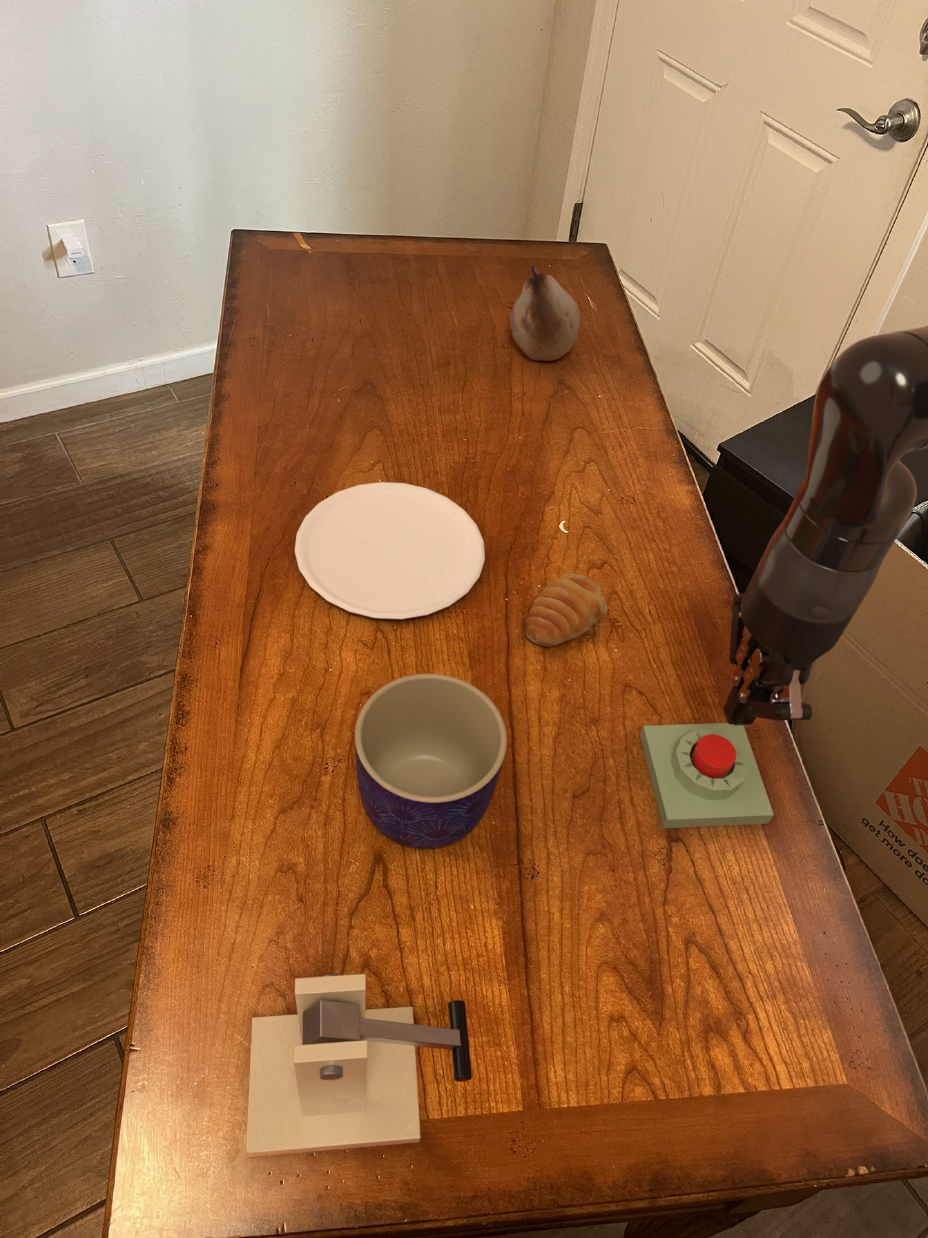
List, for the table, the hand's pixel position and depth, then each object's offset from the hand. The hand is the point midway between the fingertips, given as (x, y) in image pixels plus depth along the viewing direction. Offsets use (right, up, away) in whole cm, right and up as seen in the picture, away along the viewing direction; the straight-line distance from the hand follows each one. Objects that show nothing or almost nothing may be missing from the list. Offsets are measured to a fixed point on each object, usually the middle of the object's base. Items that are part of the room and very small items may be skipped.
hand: (736, 717), depth 81 cm
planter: (-27, -8, +4) cm, 28 cm away
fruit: (-13, +46, +51) cm, 70 cm away
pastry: (-13, +8, +19) cm, 25 cm away
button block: (-1, -7, +8) cm, 11 cm away
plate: (-32, +16, +23) cm, 42 cm away
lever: (-29, -19, -19) cm, 39 cm away
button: (-1, -5, +6) cm, 7 cm away
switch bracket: (-33, -26, -12) cm, 43 cm away
